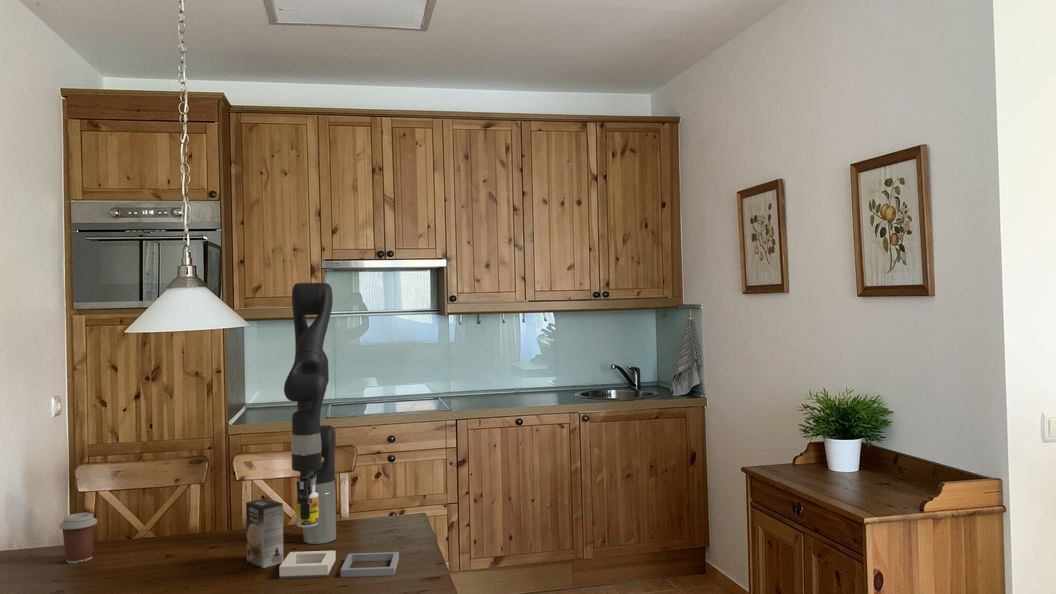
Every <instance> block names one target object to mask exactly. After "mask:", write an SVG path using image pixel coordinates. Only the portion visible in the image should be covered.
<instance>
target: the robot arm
mask: <svg viewBox="0 0 1056 594" xmlns="http://www.w3.org/2000/svg"><path fill="white" fill-rule="evenodd" d="M333 295H334V294H333V290H332V287H331V285H330V284H329V283H326V282H297V283H295V284H294V285H293V287H292V291H291V305H292V318H293V325H294V326H293V327H294V341H295V342H294V343H295V345H294V347H295V350H294V351H295V352H294V362H293V364H292V367H291V369H290V371H289V373H288V375H287V377H286V379H285V381H284V386H283V392H284V393H283V394H284V396H285V397H286V399H287V400H288V401H290V402H297V408H296V409H297V410H296V411H294V412H293V413H292V416H291V417H292V418H291V428H292V429H291V430H292V431H291V434H292V435H291V436H292V437H291V470H293V471H295V472H299V477H297V481H296V492H297V493H296V496H297V497H298V501H297V502H298V504H300V513H301V519H309V518H310V496H311V495H312V490H313V485H315V492H317V493H318V515H319V517H318V518H319V522H318V524H317V525H316V526H313V527H306V528H305V527H302V529H303V532H302V533H303V542H304V543H306V544H311V545H313V544H314V545H315V544H317V545H320V544H327V543H331V542H333V541H335V540H337V517H336V516H337V515H336V511H337V510H336V509H337V508H336V503H337V502H336V470H335V469H336V467H335V466H336V465H335V464H336V463H335V462H336V461H335V456H336V430H335V428H334V426H332V425H330V424H329V425H327V424H326V425H321V411H322V406H323V402H324V399H325V395H326V392H327V386H328V384H329V379H330V378H329V376H330V375H329V372H330V371H329V359H328V356H327V354H326V352H325V351H324V349H323V348H324V342H325V338H326V334H327V330H328V326H329V323H330V319H331V314H332V309H333V302H334V301H333ZM306 316H316V318H315V319H314V320H313V322H312V323H311V324H310V325H308V322H307V319H306ZM322 458H323V460H322ZM302 496H305V499H302Z"/></svg>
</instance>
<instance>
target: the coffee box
mask: <svg viewBox="0 0 1056 594" xmlns="http://www.w3.org/2000/svg"><path fill="white" fill-rule="evenodd" d="M245 509H246V512H245V514H246V515H245V517H246V518H245V520H246V524H245V525H246V562H248V561H249V563H251V564H253V565H255V566H257V567H259V566H260V568H261V569H262V568H263V569H265V568H268V567H273V566H276V565H281V564H282V562H283V561H284V503H282V502H280V501H276V500H273V499H271V498H268V497H264V498H260V499H255V500H251V501H247V502H246V503H245Z"/></svg>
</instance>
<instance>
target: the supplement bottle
mask: <svg viewBox="0 0 1056 594" xmlns="http://www.w3.org/2000/svg"><path fill="white" fill-rule="evenodd" d="M295 499H296V500H295V501H296V503H295V504H296V507H295V509H296V510H295V511H296V526H297V527H299V528H303V527H305V528H306V527H313V526H316V525H317V524H318V522H319V518H318V517H319V515H318V493H317V492H315V485H313V490H312V495H311V496H310V518H309V519H301V513H300V504H298V502H297V501H298V497H297V495H296V498H295ZM302 499H305V496H302Z"/></svg>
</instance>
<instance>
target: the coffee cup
mask: <svg viewBox="0 0 1056 594" xmlns="http://www.w3.org/2000/svg"><path fill="white" fill-rule="evenodd" d="M97 524H98V519H97V518H96V517H94V515H93V513H91V512H79V513H73V514H68V515H66V516H64V517H63V520H62V522H61V523H59V529H61V530H62V535H63V546H64V555H65V563H66V562H68V563H67V564H71V563H73V564H79V563H78V562H82V563H84V562H83V561H86V562H88V561H87V560H89V561H91V560H93V553H94V551H93V550H94V538H95V537H94V536H95V525H97ZM90 559H91V560H90Z"/></svg>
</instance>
